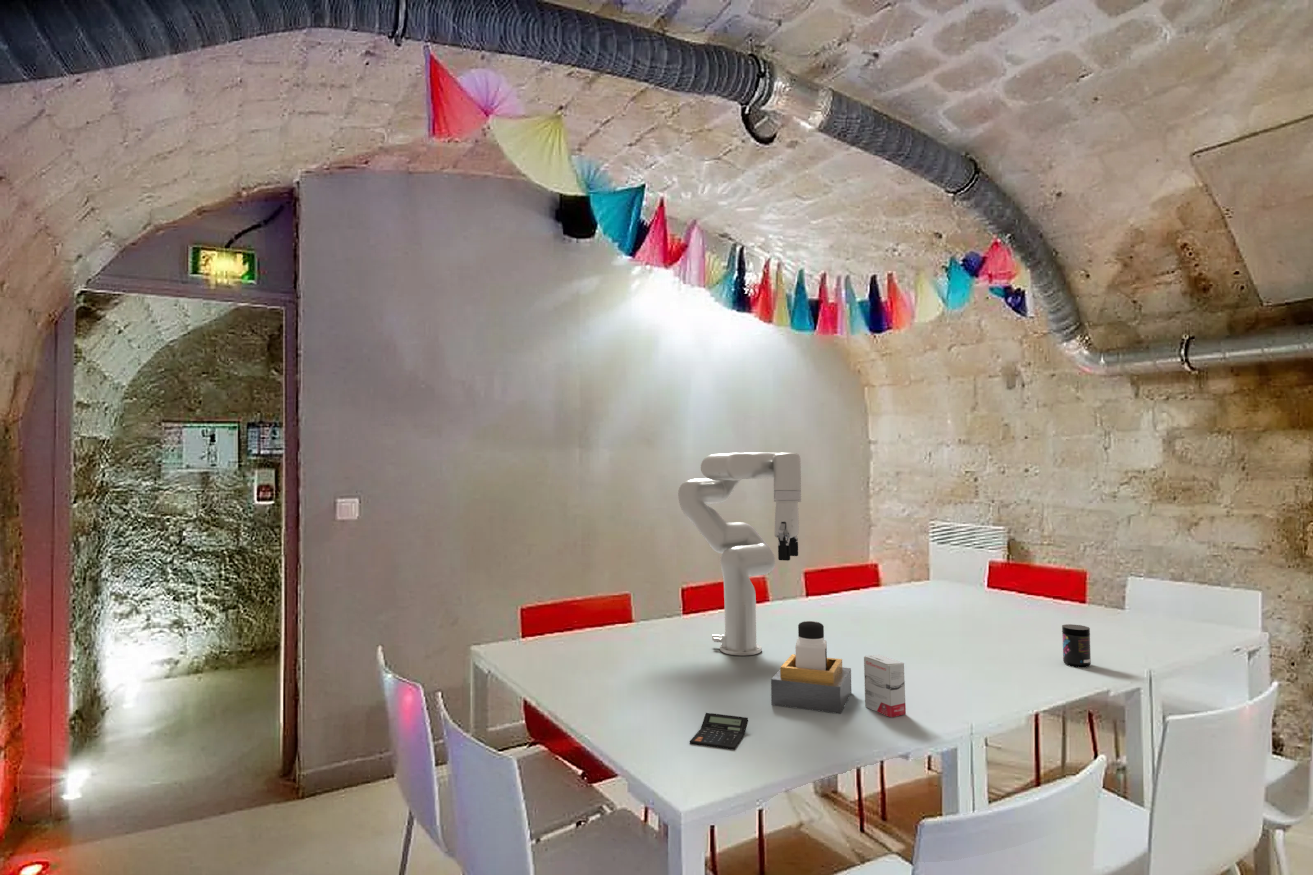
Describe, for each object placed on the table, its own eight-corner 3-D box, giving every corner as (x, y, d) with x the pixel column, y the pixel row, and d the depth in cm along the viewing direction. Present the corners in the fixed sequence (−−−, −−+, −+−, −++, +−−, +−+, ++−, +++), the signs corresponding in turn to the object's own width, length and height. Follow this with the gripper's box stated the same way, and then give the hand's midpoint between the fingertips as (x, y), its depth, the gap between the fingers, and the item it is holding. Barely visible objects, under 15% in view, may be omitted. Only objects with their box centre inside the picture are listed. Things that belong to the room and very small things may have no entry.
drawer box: (771, 704, 168) (770, 668, 169) (789, 682, 185) (789, 649, 185) (840, 713, 162) (839, 675, 162) (852, 689, 179) (852, 655, 179)
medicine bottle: (826, 677, 168) (825, 626, 169) (795, 675, 170) (795, 625, 171) (827, 669, 175) (826, 620, 176) (797, 667, 177) (796, 618, 177)
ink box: (907, 715, 161) (905, 661, 161) (890, 718, 159) (888, 664, 159) (880, 703, 169) (879, 652, 169) (863, 706, 167) (862, 655, 167)
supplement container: (1072, 660, 203) (1071, 623, 204) (1096, 666, 197) (1095, 628, 198) (1057, 663, 200) (1056, 626, 200) (1081, 669, 194) (1080, 630, 194)
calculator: (689, 745, 145) (689, 730, 146) (706, 725, 156) (706, 711, 156) (734, 751, 142) (734, 736, 142) (748, 731, 153) (748, 717, 153)
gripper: (781, 495, 210) (782, 553, 209) (766, 498, 194) (767, 561, 193) (807, 495, 207) (808, 554, 206) (793, 498, 191) (794, 562, 190)
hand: (788, 558), depth 200 cm, fingers open, 9 cm apart
